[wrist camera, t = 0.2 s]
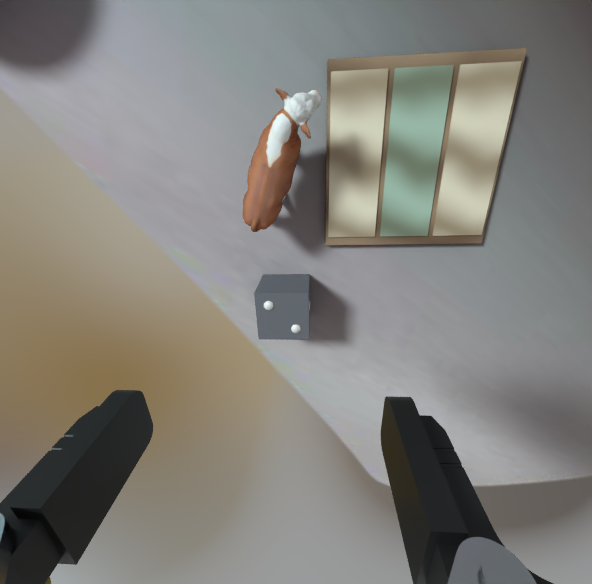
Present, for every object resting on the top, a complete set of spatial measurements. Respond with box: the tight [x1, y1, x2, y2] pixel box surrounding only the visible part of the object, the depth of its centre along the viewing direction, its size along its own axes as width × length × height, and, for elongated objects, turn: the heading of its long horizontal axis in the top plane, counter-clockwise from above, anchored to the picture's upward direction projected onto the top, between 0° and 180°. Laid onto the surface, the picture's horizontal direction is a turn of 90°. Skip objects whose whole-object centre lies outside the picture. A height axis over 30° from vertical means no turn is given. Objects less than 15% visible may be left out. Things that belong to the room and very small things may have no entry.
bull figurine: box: [243, 88, 321, 232], centre depth 28 cm, size 4×13×8 cm, turn 154°
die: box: [254, 274, 310, 340], centre depth 35 cm, size 6×6×6 cm
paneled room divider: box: [325, 48, 527, 245], centre depth 30 cm, size 18×18×1 cm
